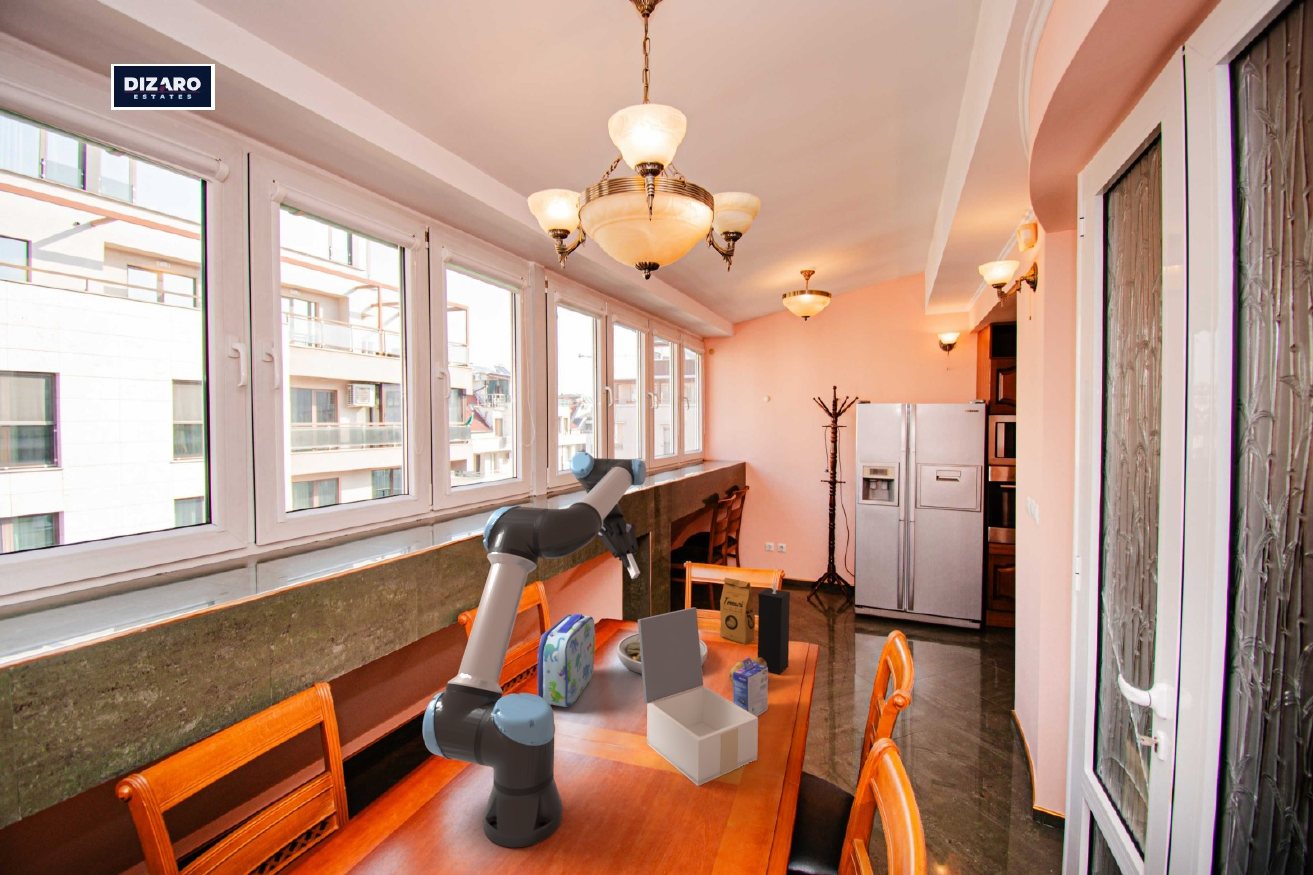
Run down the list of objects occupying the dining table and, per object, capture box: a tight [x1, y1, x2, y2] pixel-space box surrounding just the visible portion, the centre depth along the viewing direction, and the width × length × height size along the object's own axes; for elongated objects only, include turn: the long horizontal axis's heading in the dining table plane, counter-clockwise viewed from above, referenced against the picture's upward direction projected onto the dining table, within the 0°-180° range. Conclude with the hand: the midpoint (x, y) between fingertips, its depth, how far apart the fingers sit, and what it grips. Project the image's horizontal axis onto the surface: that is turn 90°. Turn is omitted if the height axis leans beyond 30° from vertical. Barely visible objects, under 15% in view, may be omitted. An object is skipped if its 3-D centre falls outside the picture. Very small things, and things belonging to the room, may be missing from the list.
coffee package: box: [719, 577, 756, 646], centre depth 211 cm, size 10×12×22 cm
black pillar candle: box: [757, 582, 791, 676], centre depth 186 cm, size 8×8×28 cm
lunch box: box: [537, 613, 596, 708], centre depth 168 cm, size 26×11×21 cm, turn 168°
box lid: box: [637, 607, 704, 704], centre depth 148 cm, size 20×18×1 cm
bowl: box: [616, 632, 708, 675], centre depth 192 cm, size 30×30×8 cm
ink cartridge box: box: [732, 657, 769, 717], centre depth 157 cm, size 10×6×14 cm, turn 137°
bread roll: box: [728, 657, 767, 686], centre depth 174 cm, size 13×10×8 cm
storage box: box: [646, 684, 759, 787], centre depth 138 cm, size 20×18×10 cm
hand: (636, 575), depth 162 cm, fingers closed
